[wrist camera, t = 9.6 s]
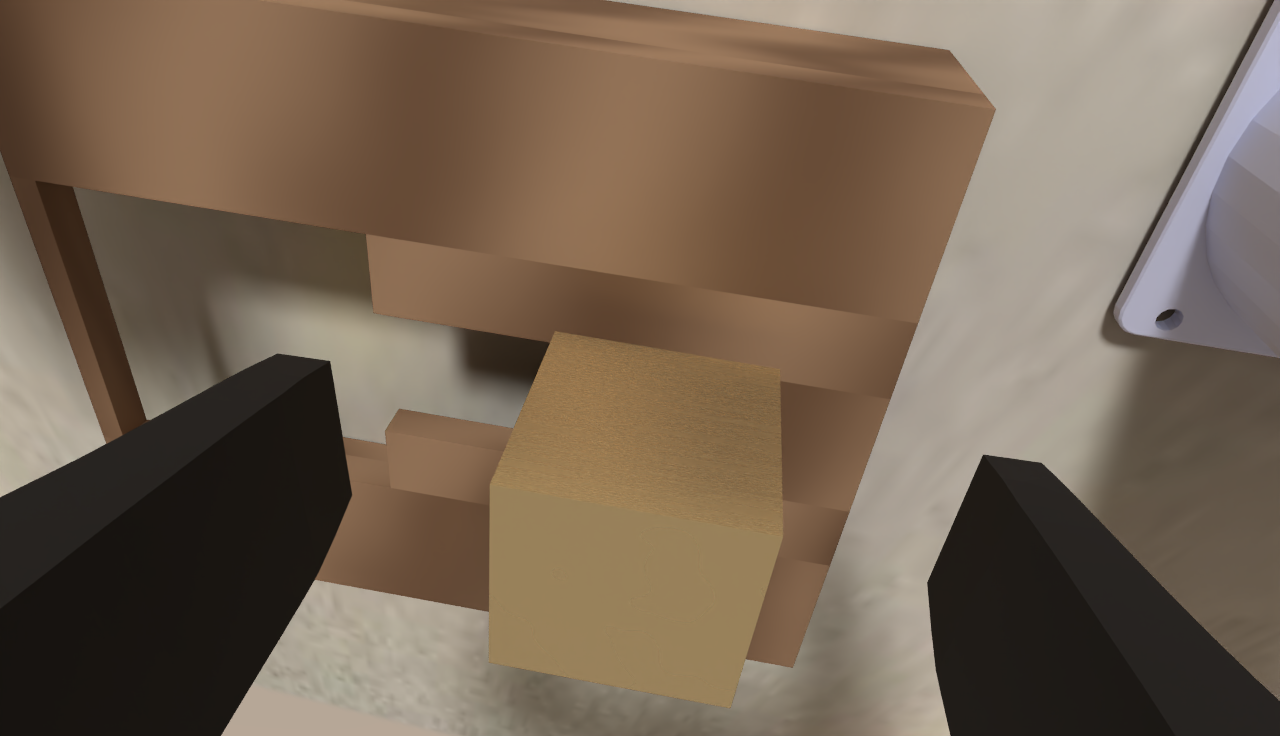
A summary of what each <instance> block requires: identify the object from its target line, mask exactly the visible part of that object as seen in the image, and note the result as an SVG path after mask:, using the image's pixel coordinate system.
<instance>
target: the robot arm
mask: <svg viewBox="0 0 1280 736" xmlns="http://www.w3.org/2000/svg"><path fill="white" fill-rule="evenodd" d="M1168 309H1175V312H1174V314H1173V315H1172V316H1171V317H1170V318H1168V319H1165V320H1163V321H1156V318H1157V317H1158V316H1159V314H1160V313H1162V312H1164V311H1166V310H1168ZM1113 313H1114V317H1115V320H1116V321H1117V323H1118V324H1119V326H1120V327H1121V328H1122V329H1123V330H1124V331H1125V332H1128V333H1130V334H1133V335H1139V336H1145V337H1152V338H1158V339H1164V340H1170V341H1177V342H1183V343H1189V344H1195V345H1201V346H1208V347H1214V348H1220V349H1226V350H1233V351H1239V352H1245V353H1251V354H1258V355H1264V356H1270V357H1276V358H1280V0H1274V2H1273V4H1272V6H1271V8H1270V10H1269V12H1268V14H1267V15H1266V17H1265V19H1264V21H1263V23H1262V25H1261V27H1260V29H1259V31H1258V33H1257V35H1256V36H1255V38H1254V40H1253V42H1252V44H1251V46H1250V48H1249V50H1248V52H1247V54H1246V56H1245V57H1244V59H1243V61H1242V63H1241V65H1240V67H1239V69H1238V71H1237V73H1236V75H1235V77H1234V79H1233V80H1232V82H1231V84H1230V86H1229V88H1228V90H1227V92H1226V94H1225V96H1224V98H1223V100H1222V101H1221V103H1220V105H1219V107H1218V109H1217V111H1216V113H1215V115H1214V117H1213V119H1212V121H1211V122H1210V124H1209V126H1208V128H1207V130H1206V132H1205V134H1204V136H1203V138H1202V140H1201V142H1200V144H1199V145H1198V147H1197V149H1196V151H1195V153H1194V155H1193V157H1192V159H1191V161H1190V163H1189V165H1188V166H1187V168H1186V170H1185V172H1184V174H1183V176H1182V178H1181V180H1180V182H1179V184H1178V186H1177V188H1176V189H1175V191H1174V193H1173V195H1172V197H1171V199H1170V201H1169V203H1168V205H1167V207H1166V209H1165V210H1164V212H1163V214H1162V216H1161V218H1160V220H1159V222H1158V224H1157V226H1156V228H1155V230H1154V231H1153V233H1152V235H1151V237H1150V239H1149V241H1148V243H1147V245H1146V247H1145V249H1144V251H1143V253H1142V254H1141V256H1140V258H1139V260H1138V262H1137V264H1136V266H1135V268H1134V270H1133V272H1132V274H1131V275H1130V277H1129V279H1128V281H1127V283H1126V285H1125V287H1124V289H1123V291H1122V293H1121V295H1120V296H1119V298H1118V300H1117V302H1116V304H1115V308H1114V311H1113ZM351 497H352V490H351V484H350V478H349V472H348V466H347V460H346V454H345V448H344V442H343V436H342V430H341V424H340V418H339V412H338V406H337V400H336V394H335V388H334V382H333V376H332V370H331V364H330V361H325V360H318V359H311V358H304V357H297V356H291V355H284V354H276V355H274V356H272V357H269V358H267V359H265V360H263V361H261V362H259V363H257V364H255V365H253V366H251V367H249V368H247V369H245V370H243V371H241V372H239V373H237V374H235V375H233V376H231V377H229V378H228V379H226V380H224V381H222V382H220V383H218V384H216V385H214V386H213V387H211V388H209V389H207V390H205V391H203V392H202V393H200V394H198V395H196V396H194V397H192V398H191V399H189V400H187V401H185V402H183V403H181V404H180V405H178V406H176V407H174V408H172V409H170V410H169V411H167V412H165V413H163V414H161V415H159V416H157V417H156V418H154V419H152V420H150V421H148V422H146V423H144V424H143V425H141V426H139V427H137V428H135V429H133V430H131V431H129V432H128V433H126V434H124V435H122V436H120V437H118V438H116V439H115V440H113V441H111V442H109V443H107V444H105V445H103V446H102V447H100V448H98V449H96V450H94V451H92V452H90V453H88V454H87V455H85V456H83V457H81V458H79V459H77V460H75V461H73V462H71V463H69V464H67V465H65V466H63V467H61V468H59V469H57V470H55V471H53V472H51V473H49V474H47V475H45V476H43V477H41V478H39V479H36V480H34V481H32V482H30V483H28V484H26V485H24V486H22V487H20V488H18V489H16V490H14V491H12V492H10V493H8V494H6V495H4V496H2V497H0V736H221V735H222V733H223V731H224V729H225V728H226V726H227V725H228V723H229V721H230V720H231V718H232V716H233V715H234V713H235V711H236V710H237V708H238V706H239V705H240V703H241V701H242V700H243V698H244V696H245V695H246V693H247V691H248V690H249V688H250V687H251V685H252V683H253V682H254V680H255V679H256V677H257V675H258V674H259V672H260V670H261V669H262V667H263V665H264V664H265V662H266V660H267V659H268V657H269V655H270V654H271V652H272V651H273V649H274V647H275V646H276V644H277V642H278V641H279V639H280V637H281V636H282V634H283V632H284V631H285V629H286V627H287V626H288V624H289V622H290V621H291V619H292V617H293V616H294V614H295V612H296V611H297V609H298V607H299V606H300V604H301V602H302V600H303V599H304V597H305V595H306V594H307V592H308V590H309V589H310V587H311V585H312V583H313V582H314V580H315V578H316V577H317V575H318V573H319V571H320V569H321V567H322V564H323V562H324V560H325V558H326V556H327V553H328V551H329V549H330V547H331V545H332V542H333V540H334V538H335V536H336V533H337V531H338V528H339V526H340V524H341V521H342V519H343V516H344V514H345V512H346V509H347V507H348V504H349V502H350V500H351ZM927 584H928V596H929V608H930V619H931V631H932V640H933V648H934V657H935V666H936V673H937V677H938V682H939V686H940V691H941V696H942V700H943V704H944V709H945V713H946V718H947V722H948V726H949V731H950V735H951V736H1280V701H1279V700H1278V699H1277V698H1276V697H1275V696H1274V695H1273V694H1271V693H1270V692H1269V691H1268V690H1267V689H1266V688H1265V687H1264V686H1263V685H1262V684H1261V683H1260V682H1259V681H1257V680H1256V679H1255V678H1254V677H1253V676H1252V675H1251V674H1250V673H1249V672H1248V671H1247V670H1246V669H1245V668H1244V667H1243V666H1242V665H1241V664H1240V663H1239V662H1238V661H1237V660H1236V659H1235V658H1234V657H1233V656H1232V655H1231V654H1230V653H1228V652H1227V651H1226V650H1225V649H1224V648H1223V647H1222V646H1221V645H1220V644H1219V643H1218V642H1217V641H1216V640H1215V639H1214V638H1213V637H1212V636H1211V635H1210V634H1209V633H1208V632H1207V631H1206V630H1205V629H1204V628H1203V627H1202V626H1201V625H1200V624H1199V623H1198V622H1197V621H1196V620H1195V619H1194V618H1193V617H1192V616H1191V615H1190V614H1189V613H1188V612H1187V611H1186V610H1185V609H1184V608H1183V607H1182V606H1181V605H1180V604H1179V603H1178V602H1177V601H1176V600H1175V599H1174V598H1173V597H1172V596H1171V595H1170V594H1169V593H1168V592H1167V591H1166V590H1165V589H1164V588H1163V587H1162V585H1161V584H1160V583H1159V582H1158V581H1157V580H1156V579H1155V578H1154V577H1153V576H1152V575H1151V574H1150V573H1149V572H1148V571H1147V570H1146V569H1145V568H1144V567H1143V566H1142V565H1141V564H1140V563H1139V562H1138V561H1137V560H1136V559H1135V558H1134V557H1133V555H1132V554H1131V553H1130V552H1129V551H1128V550H1127V549H1126V548H1125V547H1124V546H1123V545H1122V544H1121V543H1120V542H1119V541H1118V540H1117V539H1116V538H1115V537H1114V536H1113V535H1112V534H1111V533H1110V532H1109V530H1108V529H1107V528H1106V527H1105V526H1104V525H1103V524H1102V523H1101V522H1100V521H1099V520H1098V519H1097V518H1096V517H1095V516H1094V515H1093V514H1092V513H1091V512H1090V511H1089V510H1088V509H1087V508H1086V507H1085V505H1084V504H1083V503H1082V502H1081V501H1080V500H1079V499H1078V498H1077V497H1076V496H1075V495H1074V494H1073V493H1072V492H1071V491H1070V490H1069V489H1068V488H1067V487H1066V486H1065V485H1064V484H1063V483H1062V482H1061V481H1060V480H1059V479H1058V478H1057V477H1056V476H1055V475H1054V474H1053V473H1052V472H1051V471H1049V470H1048V469H1047V468H1046V467H1045V466H1044V465H1043V464H1042V463H1038V462H1031V461H1024V460H1017V459H1010V458H1003V457H996V456H989V455H983V456H982V459H981V461H980V463H979V465H978V468H977V470H976V472H975V475H974V477H973V479H972V481H971V484H970V486H969V488H968V491H967V493H966V495H965V497H964V500H963V502H962V504H961V507H960V509H959V511H958V513H957V516H956V518H955V520H954V523H953V525H952V527H951V530H950V532H949V534H948V536H947V539H946V541H945V543H944V546H943V548H942V550H941V552H940V555H939V557H938V559H937V562H936V564H935V566H934V568H933V571H932V573H931V575H930V578H929V580H928V582H927Z"/></svg>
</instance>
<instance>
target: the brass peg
mask: <svg viewBox="0 0 1280 736" xmlns="http://www.w3.org/2000/svg"><path fill="white" fill-rule="evenodd" d="M782 539H783V501H782V448H781V394H780V369H776V368H770V367H764V366H758V365H752V364H746V363H741V362H735V361H729V360H723V359H717V358H711V357H705V356H699V355H693V354H687V353H681V352H675V351H669V350H664V349H658V348H652V347H646V346H640V345H634V344H628V343H622V342H616V341H610V340H604V339H598V338H592V337H586V336H581V335H575V334H569V333H563V332H557V331H555V332H554V335H553V337H552V339H551V342H550V344H549V347H548V349H547V351H546V354H545V356H544V358H543V361H542V363H541V365H540V368H539V370H538V372H537V375H536V377H535V379H534V382H533V384H532V386H531V389H530V391H529V394H528V396H527V398H526V401H525V403H524V405H523V408H522V410H521V412H520V415H519V417H518V419H517V422H516V424H515V426H514V429H513V431H512V433H511V436H510V438H509V441H508V443H507V445H506V448H505V450H504V452H503V455H502V457H501V459H500V462H499V464H498V466H497V469H496V471H495V473H494V476H493V478H492V480H491V483H490V536H489V663H494V664H499V665H504V666H510V667H515V668H520V669H525V670H531V671H536V672H541V673H547V674H552V675H557V676H562V677H568V678H573V679H578V680H583V681H589V682H594V683H599V684H605V685H610V686H615V687H620V688H626V689H631V690H636V691H642V692H647V693H652V694H657V695H663V696H668V697H673V698H679V699H684V700H689V701H694V702H700V703H705V704H710V705H716V706H721V707H726V708H731V704H732V701H733V698H734V695H735V691H736V688H737V685H738V682H739V678H740V675H741V672H742V669H743V665H744V662H745V659H746V656H747V652H748V649H749V646H750V643H751V640H752V636H753V633H754V630H755V627H756V623H757V620H758V617H759V614H760V610H761V607H762V604H763V601H764V597H765V594H766V591H767V588H768V584H769V581H770V578H771V575H772V572H773V568H774V565H775V562H776V559H777V555H778V552H779V549H780V546H781V542H782Z"/></svg>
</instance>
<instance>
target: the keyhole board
mask: <svg viewBox="0 0 1280 736" xmlns="http://www.w3.org/2000/svg"><path fill="white" fill-rule="evenodd" d="M995 110H996V109H995V108H994V106H993V105H992V104H991V102H990V101H989V100H988V99H987V97H986V96H985V95H984V94H983V92H982V91H981V90H980V89H979V87H978V86H977V85H976V83H975V82H974V81H973V80H972V78H971V77H970V76H969V75H968V73H967V72H966V71H965V70H964V68H963V67H962V66H961V64H960V63H959V62H958V61H957V59H956V58H955V57H954V56H953V54H952V53H951V52H950V51H949V50H944V49H937V48H930V47H923V46H916V45H909V44H902V43H895V42H889V41H882V40H875V39H868V38H861V37H854V36H847V35H840V34H833V33H826V32H820V31H813V30H806V29H799V28H792V27H785V26H778V25H771V24H764V23H757V22H751V21H744V20H737V19H730V18H723V17H716V16H709V15H702V14H695V13H688V12H682V11H675V10H668V9H661V8H654V7H647V6H640V5H633V4H626V3H620V2H613V1H606V0H0V151H1V154H2V157H3V160H4V162H5V165H6V168H7V171H8V174H9V176H10V179H11V182H12V185H13V187H14V190H15V193H16V196H17V198H18V201H19V204H20V207H21V209H22V212H23V215H24V218H25V220H26V223H27V226H28V229H29V231H30V234H31V237H32V240H33V242H34V245H35V248H36V251H37V253H38V256H39V259H40V262H41V264H42V267H43V270H44V273H45V276H46V278H47V281H48V284H49V287H50V289H51V292H52V295H53V298H54V300H55V303H56V306H57V309H58V311H59V314H60V317H61V320H62V322H63V325H64V328H65V331H66V333H67V336H68V339H69V342H70V344H71V347H72V350H73V353H74V355H75V358H76V361H77V364H78V367H79V369H80V372H81V375H82V378H83V380H84V383H85V386H86V389H87V391H88V394H89V397H90V400H91V402H92V405H93V408H94V411H95V413H96V416H97V419H98V422H99V424H100V427H101V430H102V433H103V435H104V438H105V441H106V444H107V443H109V442H111V441H113V440H115V439H116V438H118V437H120V436H122V435H124V434H126V433H128V432H129V431H131V430H133V429H135V428H137V427H139V426H141V425H143V424H144V423H146V422H148V421H150V420H146V417H145V413H144V410H143V407H142V404H141V401H140V398H139V395H138V391H137V388H136V385H135V382H134V379H133V376H132V373H131V369H130V366H129V363H128V360H127V357H126V354H125V350H124V347H123V344H122V341H121V338H120V335H119V332H118V328H117V325H116V322H115V319H114V316H113V313H112V310H111V306H110V303H109V300H108V297H107V294H106V291H105V288H104V284H103V281H102V278H101V275H100V272H99V269H98V265H97V262H96V259H95V256H94V253H93V250H92V247H91V243H90V240H89V237H88V234H87V231H86V228H85V225H84V221H83V218H82V215H81V212H80V209H79V206H78V203H77V199H76V196H75V193H74V190H73V187H78V188H84V189H91V190H97V191H103V192H109V193H115V194H121V195H128V196H134V197H140V198H146V199H152V200H158V201H165V202H171V203H177V204H183V205H189V206H196V207H202V208H208V209H214V210H220V211H226V212H233V213H239V214H245V215H251V216H257V217H263V218H270V219H276V220H282V221H288V222H294V223H300V224H307V225H313V226H319V227H325V228H331V229H338V230H344V231H350V232H356V233H362V234H366V241H367V251H368V261H369V272H370V282H371V292H372V302H373V313H376V314H382V315H388V316H394V317H400V318H406V319H412V320H418V321H424V322H430V323H436V324H442V325H448V326H454V327H460V328H466V329H472V330H478V331H484V332H490V333H496V334H502V335H508V336H514V337H520V338H526V339H532V340H538V341H544V342H551V339H552V337H553V335H554V332H555V331H557V332H563V333H569V334H575V335H581V336H586V337H592V338H598V339H604V340H610V341H616V342H622V343H628V344H634V345H640V346H646V347H652V348H658V349H664V350H669V351H675V352H681V353H687V354H693V355H699V356H705V357H711V358H717V359H723V360H729V361H735V362H741V363H746V364H752V365H758V366H764V367H770V368H776V369H780V394H781V448H782V501H783V539H782V542H781V546H780V549H779V552H778V555H777V559H776V562H775V565H774V568H773V572H772V575H771V578H770V581H769V584H768V588H767V591H766V594H765V597H764V601H763V604H762V607H761V610H760V614H759V617H758V620H757V623H756V627H755V630H754V633H753V636H752V640H751V643H750V646H749V649H748V652H747V656H746V659H748V660H754V661H759V662H764V663H770V664H775V665H781V666H786V667H792V668H793V666H794V663H795V660H796V657H797V655H798V652H799V649H800V646H801V644H802V641H803V638H804V635H805V633H806V630H807V627H808V624H809V622H810V619H811V616H812V613H813V611H814V608H815V605H816V602H817V600H818V597H819V594H820V591H821V589H822V586H823V583H824V580H825V578H826V575H827V572H828V569H829V567H830V564H831V561H832V558H833V556H834V553H835V550H836V547H837V545H838V542H839V539H840V536H841V534H842V531H843V528H844V525H845V523H846V520H847V517H848V514H849V512H850V509H851V506H852V503H853V501H854V498H855V495H856V492H857V490H858V487H859V484H860V481H861V479H862V476H863V473H864V470H865V468H866V465H867V462H868V459H869V457H870V454H871V451H872V448H873V446H874V443H875V440H876V437H877V435H878V432H879V429H880V426H881V424H882V421H883V418H884V415H885V413H886V410H887V407H888V404H889V402H890V399H891V396H892V393H893V391H894V388H895V385H896V382H897V380H898V377H899V374H900V371H901V369H902V366H903V363H904V360H905V358H906V355H907V352H908V349H909V347H910V344H911V341H912V338H913V336H914V333H915V330H916V327H917V325H918V322H919V319H920V316H921V314H922V311H923V308H924V305H925V303H926V300H927V297H928V294H929V292H930V289H931V286H932V283H933V281H934V278H935V275H936V272H937V270H938V267H939V264H940V261H941V259H942V256H943V253H944V250H945V248H946V245H947V242H948V239H949V237H950V234H951V231H952V228H953V226H954V223H955V220H956V218H957V215H958V212H959V209H960V207H961V204H962V201H963V198H964V196H965V193H966V190H967V187H968V185H969V182H970V179H971V176H972V174H973V171H974V168H975V165H976V163H977V160H978V157H979V154H980V152H981V149H982V146H983V143H984V141H985V138H986V135H987V132H988V130H989V127H990V124H991V121H992V119H993V116H994V113H995ZM512 431H513V428H508V427H502V426H496V425H490V424H484V423H479V422H473V421H467V420H461V419H455V418H450V417H444V416H438V415H432V414H426V413H421V412H415V411H409V410H403V409H399V410H398V411H397V413H396V415H395V416H394V418H393V419H392V421H391V422H390V424H389V426H388V427H387V429H386V430H385V435H386V445H385V444H379V443H374V442H368V441H362V440H356V439H351V438H345V437H343V442H344V448H345V454H346V460H347V466H348V472H349V478H350V484H351V490H352V497H351V500H350V502H349V504H348V507H347V509H346V512H345V514H344V516H343V519H342V521H341V524H340V526H339V528H338V531H337V533H336V536H335V538H334V540H333V542H332V545H331V547H330V549H329V551H328V553H327V556H326V558H325V560H324V562H323V564H322V567H321V569H320V571H319V573H318V575H317V577H316V578H315V580H320V581H325V582H331V583H336V584H341V585H347V586H352V587H358V588H363V589H369V590H374V591H379V592H385V593H390V594H396V595H401V596H407V597H412V598H417V599H423V600H428V601H434V602H439V603H444V604H450V605H455V606H461V607H466V608H472V609H477V610H482V611H488V612H489V536H490V483H491V480H492V478H493V476H494V473H495V471H496V469H497V466H498V464H499V462H500V459H501V457H502V455H503V452H504V450H505V448H506V445H507V443H508V441H509V438H510V436H511V433H512Z"/></svg>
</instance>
